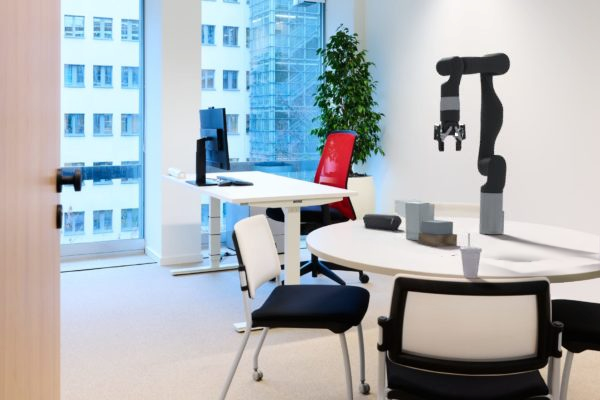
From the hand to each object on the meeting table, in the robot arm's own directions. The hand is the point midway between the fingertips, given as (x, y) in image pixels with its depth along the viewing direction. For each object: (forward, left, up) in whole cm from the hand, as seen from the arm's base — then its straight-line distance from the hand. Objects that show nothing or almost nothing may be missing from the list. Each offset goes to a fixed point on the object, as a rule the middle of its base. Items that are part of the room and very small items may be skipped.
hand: (449, 151), depth 249 cm
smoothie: (+34, +49, -39) cm, 71 cm away
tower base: (+11, +7, -35) cm, 38 cm away
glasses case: (+7, -35, -35) cm, 50 cm away
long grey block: (-29, -59, -35) cm, 74 cm away
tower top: (+11, +7, -31) cm, 34 cm away
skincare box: (+10, -7, -35) cm, 37 cm away
